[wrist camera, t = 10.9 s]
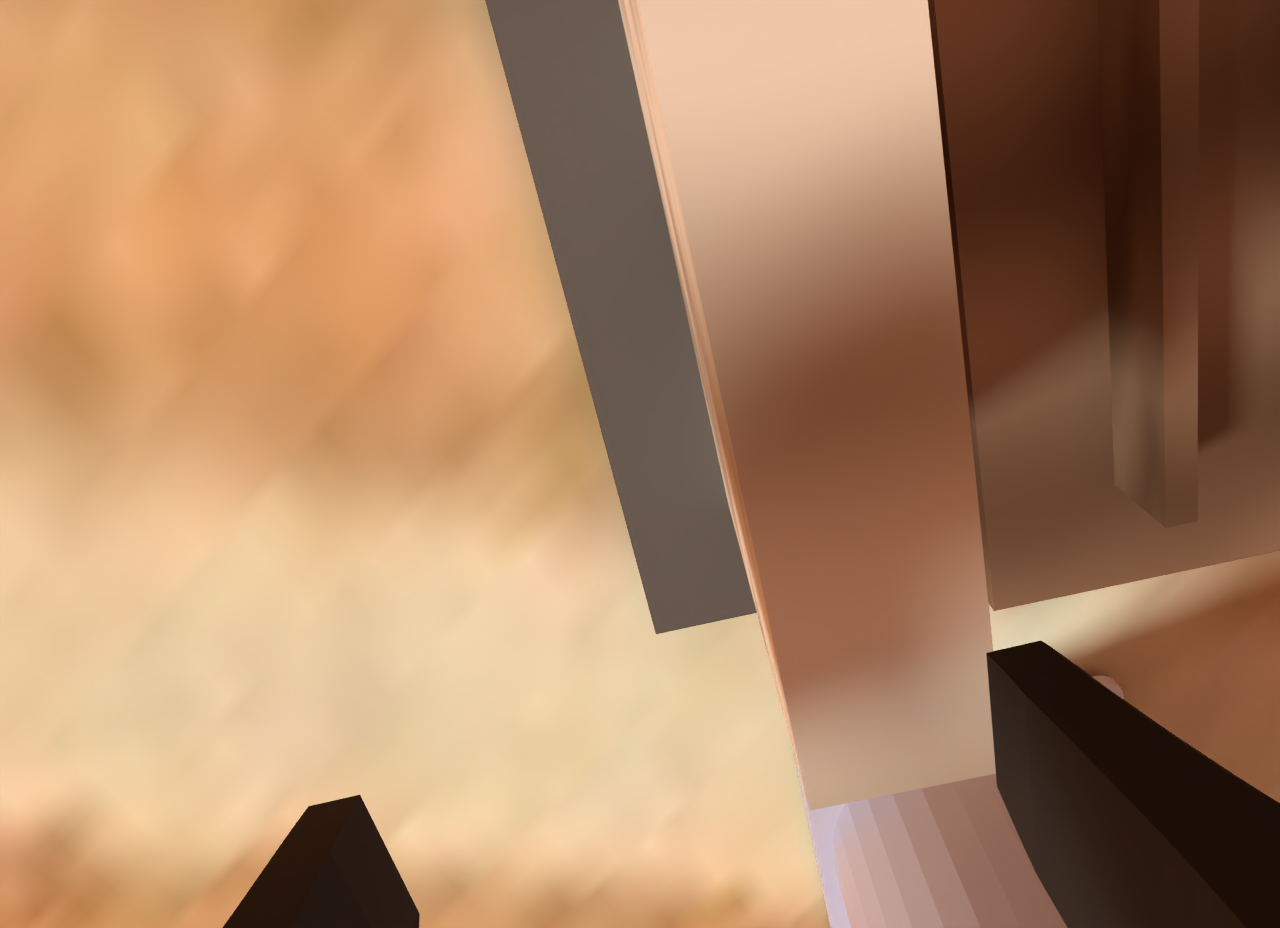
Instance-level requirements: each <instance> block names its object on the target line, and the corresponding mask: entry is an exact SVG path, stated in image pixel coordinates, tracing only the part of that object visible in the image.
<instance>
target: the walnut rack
mask: <svg viewBox="0 0 1280 928" xmlns="http://www.w3.org/2000/svg"><path fill="white" fill-rule="evenodd" d="M928 9H929V19H930V29H931V38H932V48H933V58H934V68H935V78H936V88H937V98H938V108H939V118H940V128H941V138H942V148H943V158H944V167H945V177H946V187H947V197H948V207H949V217H950V227H951V237H952V247H953V257H954V267H955V277H956V286H957V296H958V306H959V316H960V326H961V336H962V346H963V356H964V366H965V376H966V386H967V396H968V406H969V415H970V425H971V435H972V445H973V455H974V465H975V475H976V485H977V495H978V505H979V515H980V525H981V534H982V544H983V554H984V564H985V574H986V584H987V594H988V603H989V604H990V606H991V607H992V608H993V610H994V611H996V610H1001V609H1005V608H1010V607H1015V606H1020V605H1024V604H1029V603H1034V602H1039V601H1043V600H1048V599H1053V598H1058V597H1062V596H1067V595H1072V594H1077V593H1081V592H1086V591H1091V590H1095V589H1100V588H1105V587H1110V586H1114V585H1119V584H1124V583H1129V582H1133V581H1138V580H1143V579H1148V578H1152V577H1157V576H1162V575H1167V574H1171V573H1176V572H1181V571H1186V570H1190V569H1195V568H1200V567H1205V566H1209V565H1214V564H1219V563H1224V562H1228V561H1233V560H1238V559H1243V558H1247V557H1252V556H1257V555H1261V554H1266V553H1271V552H1276V551H1280V0H928Z"/></svg>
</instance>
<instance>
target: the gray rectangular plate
mask: <svg viewBox="0 0 1280 928" xmlns="http://www.w3.org/2000/svg"><path fill="white" fill-rule="evenodd" d="M485 1H486V5H487V8H488V12H489V16H490V19H491V23H492V27H493V31H494V34H495V38H496V42H497V45H498V49H499V53H500V57H501V60H502V64H503V68H504V71H505V75H506V79H507V83H508V86H509V90H510V94H511V97H512V101H513V105H514V109H515V112H516V116H517V120H518V123H519V127H520V131H521V135H522V138H523V142H524V146H525V149H526V153H527V157H528V161H529V164H530V168H531V172H532V175H533V179H534V183H535V187H536V190H537V194H538V198H539V201H540V205H541V209H542V213H543V216H544V220H545V224H546V227H547V231H548V235H549V239H550V242H551V246H552V250H553V253H554V257H555V261H556V265H557V268H558V272H559V276H560V279H561V283H562V287H563V291H564V294H565V298H566V302H567V305H568V309H569V313H570V316H571V320H572V324H573V328H574V331H575V335H576V339H577V342H578V346H579V350H580V354H581V357H582V361H583V365H584V368H585V372H586V376H587V380H588V383H589V387H590V391H591V394H592V398H593V402H594V406H595V409H596V413H597V417H598V420H599V424H600V428H601V432H602V435H603V439H604V443H605V446H606V450H607V454H608V458H609V461H610V465H611V469H612V472H613V476H614V480H615V484H616V487H617V491H618V495H619V498H620V502H621V506H622V510H623V513H624V517H625V521H626V524H627V528H628V532H629V536H630V539H631V543H632V547H633V550H634V554H635V558H636V562H637V565H638V569H639V573H640V576H641V580H642V584H643V588H644V591H645V595H646V599H647V602H648V606H649V610H650V614H651V617H652V621H653V625H654V628H655V632H656V634H659V633H664V632H668V631H673V630H678V629H682V628H687V627H692V626H696V625H701V624H706V623H710V622H715V621H720V620H724V619H729V618H734V617H738V616H743V615H748V614H752V613H757V611H756V607H755V603H754V599H753V596H752V592H751V588H750V584H749V581H748V577H747V573H746V569H745V565H744V562H743V558H742V554H741V550H740V546H739V543H738V539H737V535H736V531H735V527H734V524H733V520H732V516H731V512H730V508H729V505H728V500H727V496H726V491H725V486H724V482H723V477H722V473H721V468H720V464H719V459H718V454H717V450H716V445H715V441H714V436H713V432H712V427H711V423H710V418H709V413H708V409H707V404H706V400H705V395H704V391H703V386H702V381H701V377H700V372H699V368H698V363H697V359H696V354H695V349H694V345H693V340H692V336H691V331H690V327H689V322H688V317H687V313H686V308H685V304H684V299H683V295H682V290H681V285H680V281H679V276H678V272H677V267H676V263H675V258H674V253H673V249H672V244H671V240H670V235H669V231H668V226H667V222H666V217H665V212H664V208H663V203H662V199H661V194H660V190H659V185H658V180H657V176H656V171H655V167H654V162H653V158H652V153H651V148H650V144H649V139H648V135H647V130H646V126H645V121H644V116H643V112H642V107H641V103H640V98H639V94H638V89H637V84H636V80H635V75H634V71H633V66H632V62H631V57H630V52H629V48H628V43H627V39H626V34H625V30H624V25H623V20H622V16H621V11H620V7H619V2H618V0H485Z"/></svg>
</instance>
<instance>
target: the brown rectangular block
mask: <svg viewBox="0 0 1280 928" xmlns="http://www.w3.org/2000/svg"><path fill="white" fill-rule="evenodd" d="M618 2H619V7H620V11H621V16H622V20H623V25H624V30H625V34H626V39H627V43H628V48H629V52H630V57H631V62H632V66H633V71H634V75H635V80H636V84H637V89H638V94H639V98H640V103H641V107H642V112H643V116H644V121H645V126H646V130H647V135H648V139H649V144H650V148H651V153H652V158H653V162H654V167H655V171H656V176H657V180H658V185H659V190H660V194H661V199H662V203H663V208H664V212H665V217H666V222H667V226H668V231H669V235H670V240H671V244H672V249H673V253H674V258H675V263H676V267H677V272H678V276H679V281H680V285H681V290H682V295H683V299H684V304H685V308H686V313H687V317H688V322H689V327H690V331H691V336H692V340H693V345H694V349H695V354H696V359H697V363H698V368H699V372H700V377H701V381H702V386H703V391H704V395H705V400H706V404H707V409H708V413H709V418H710V423H711V427H712V432H713V436H714V441H715V445H716V450H717V454H718V459H719V464H720V468H721V473H722V477H723V482H724V486H725V491H726V496H727V500H728V505H729V508H730V512H731V516H732V520H733V524H734V527H735V531H736V535H737V539H738V543H739V546H740V550H741V554H742V558H743V562H744V565H745V569H746V573H747V577H748V581H749V584H750V588H751V592H752V596H753V599H754V603H755V607H756V611H757V615H758V618H759V622H760V626H761V630H762V634H763V637H764V641H765V645H766V649H767V653H768V656H769V660H770V664H771V668H772V672H773V675H774V679H775V683H776V687H777V691H778V694H779V698H780V702H781V706H782V709H783V713H784V717H785V721H786V725H787V728H788V732H789V736H790V740H791V744H792V747H793V751H794V755H795V759H796V763H797V766H798V770H799V774H800V778H801V782H802V785H803V789H804V793H805V797H806V801H807V804H808V808H809V811H811V810H816V809H821V808H826V807H831V806H836V805H841V804H846V803H851V802H856V801H861V800H866V799H871V798H876V797H881V796H886V795H891V794H896V793H901V792H906V791H911V790H916V789H921V788H926V787H931V786H936V785H941V784H946V783H951V782H956V781H961V780H966V779H971V778H976V777H981V776H986V775H991V774H996V768H995V756H994V743H993V731H992V718H991V706H990V693H989V681H988V669H987V656H986V653H989V652H993V644H992V634H991V624H990V614H989V604H988V594H987V584H986V574H985V564H984V554H983V544H982V534H981V525H980V515H979V505H978V495H977V485H976V475H975V465H974V455H973V445H972V435H971V425H970V415H969V406H968V396H967V386H966V376H965V366H964V356H963V346H962V336H961V326H960V316H959V306H958V296H957V286H956V277H955V267H954V257H953V247H952V237H951V227H950V217H949V207H948V197H947V187H946V177H945V167H944V158H943V148H942V138H941V128H940V118H939V108H938V98H937V88H936V78H935V68H934V58H933V48H932V38H931V29H930V19H929V9H928V0H618Z"/></svg>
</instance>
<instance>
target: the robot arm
mask: <svg viewBox="0 0 1280 928" xmlns="http://www.w3.org/2000/svg"><path fill="white" fill-rule="evenodd" d="M986 656H987V669H988V681H989V693H990V706H991V718H992V731H993V743H994V756H995V768H996V774H991V775H986V776H981V777H976V778H971V779H966V780H961V781H956V782H951V783H946V784H941V785H936V786H931V787H926V788H921V789H916V790H911V791H906V792H901V793H896V794H891V795H886V796H881V797H876V798H871V799H866V800H861V801H856V802H851V803H846V804H841V805H836V806H831V807H826V808H821V809H816V810H811V811H809V808H808V804H807V801H806V797H805V793H804V789H803V785H802V782H801V778H800V774H799V770H798V766H797V763H796V759H795V763H796V768H797V772H798V777H799V782H800V786H801V791H802V796H803V801H804V805H805V810H806V815H807V819H808V824H809V829H810V833H811V838H812V843H813V847H814V852H815V857H816V862H817V866H818V871H819V876H820V880H821V885H822V890H823V894H824V899H825V904H826V908H827V913H828V918H829V923H830V927H831V928H1280V803H1278V802H1277V801H1275V800H1273V799H1272V798H1270V797H1269V796H1267V795H1265V794H1264V793H1262V792H1261V791H1259V790H1257V789H1256V788H1254V787H1253V786H1251V785H1250V784H1248V783H1246V782H1245V781H1243V780H1242V779H1240V778H1238V777H1237V776H1235V775H1234V774H1232V773H1231V772H1229V771H1228V770H1226V769H1225V768H1223V767H1222V766H1220V765H1219V764H1217V763H1216V762H1214V761H1213V760H1211V759H1210V758H1208V757H1207V756H1205V755H1204V754H1202V753H1201V752H1199V751H1198V750H1196V749H1195V748H1193V747H1192V746H1190V745H1189V744H1187V743H1185V742H1184V741H1182V740H1181V739H1179V738H1178V737H1176V736H1175V735H1174V734H1172V733H1171V732H1169V731H1168V730H1166V729H1165V728H1163V727H1162V726H1160V725H1159V724H1158V723H1156V722H1155V721H1153V720H1152V719H1150V718H1149V717H1147V716H1146V715H1145V714H1143V713H1142V712H1140V711H1139V710H1138V709H1136V708H1135V707H1133V706H1132V705H1131V704H1129V703H1128V702H1126V701H1125V700H1124V695H1123V691H1122V689H1121V688H1120V687H1119V685H1118V684H1117V683H1116V682H1115V681H1114V680H1113V679H1112V678H1111V677H1108V676H1104V675H1102V676H1093V677H1092V676H1090V675H1089V674H1088V673H1086V672H1085V671H1083V670H1082V669H1081V668H1079V667H1078V666H1077V665H1075V664H1074V663H1072V662H1071V661H1070V660H1068V659H1067V658H1066V657H1064V656H1063V655H1061V654H1060V653H1059V652H1057V651H1056V650H1055V649H1053V648H1052V647H1050V646H1049V645H1047V644H1046V643H1044V642H1042V641H1037V642H1033V643H1028V644H1024V645H1020V646H1015V647H1011V648H1006V649H1002V650H997V651H993V652H989V653H986ZM794 758H795V755H794ZM223 928H419V912H418V910H417V908H416V906H415V904H414V902H413V900H412V898H411V896H410V894H409V892H408V890H407V888H406V886H405V884H404V882H403V880H402V878H401V876H400V874H399V872H398V870H397V868H396V866H395V864H394V862H393V860H392V858H391V856H390V854H389V852H388V850H387V848H386V846H385V844H384V842H383V840H382V838H381V836H380V834H379V832H378V830H377V828H376V826H375V824H374V822H373V820H372V818H371V816H370V814H369V812H368V810H367V808H366V806H365V804H364V802H363V800H362V798H361V796H360V795H357V796H353V797H348V798H344V799H339V800H335V801H330V802H326V803H322V804H317V805H313V806H309V807H308V808H307V809H306V811H305V812H304V813H303V815H302V816H301V818H300V819H299V820H298V822H297V823H296V824H295V826H294V827H293V828H292V830H291V831H290V833H289V834H288V835H287V837H286V838H285V840H284V841H283V843H282V844H281V845H280V847H279V848H278V850H277V851H276V853H275V854H274V855H273V857H272V858H271V860H270V861H269V863H268V864H267V865H266V867H265V868H264V870H263V871H262V873H261V874H260V875H259V877H258V878H257V880H256V881H255V883H254V884H253V885H252V887H251V888H250V890H249V891H248V893H247V894H246V896H245V897H244V898H243V900H242V901H241V903H240V904H239V906H238V907H237V908H236V910H235V911H234V913H233V914H232V915H231V917H230V918H229V920H228V921H227V922H226V924H225V925H224V926H223Z"/></svg>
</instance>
